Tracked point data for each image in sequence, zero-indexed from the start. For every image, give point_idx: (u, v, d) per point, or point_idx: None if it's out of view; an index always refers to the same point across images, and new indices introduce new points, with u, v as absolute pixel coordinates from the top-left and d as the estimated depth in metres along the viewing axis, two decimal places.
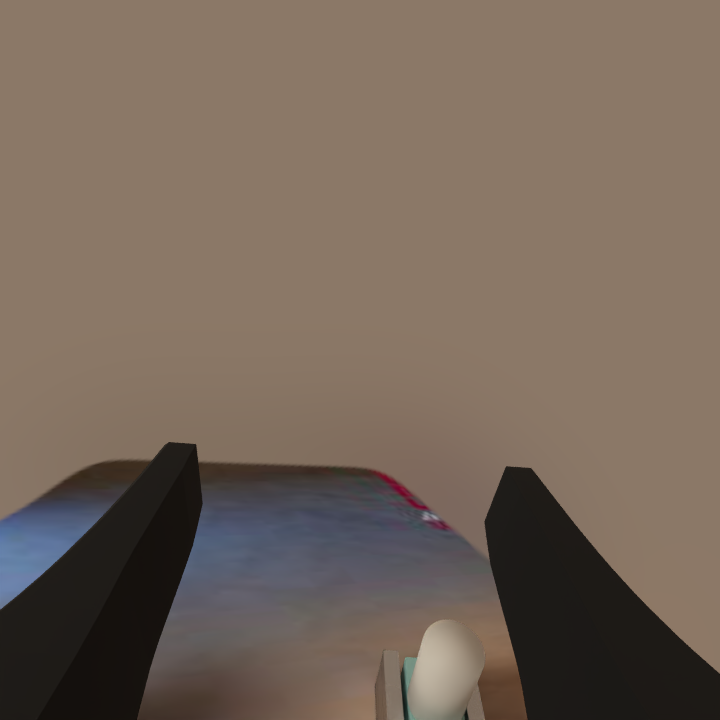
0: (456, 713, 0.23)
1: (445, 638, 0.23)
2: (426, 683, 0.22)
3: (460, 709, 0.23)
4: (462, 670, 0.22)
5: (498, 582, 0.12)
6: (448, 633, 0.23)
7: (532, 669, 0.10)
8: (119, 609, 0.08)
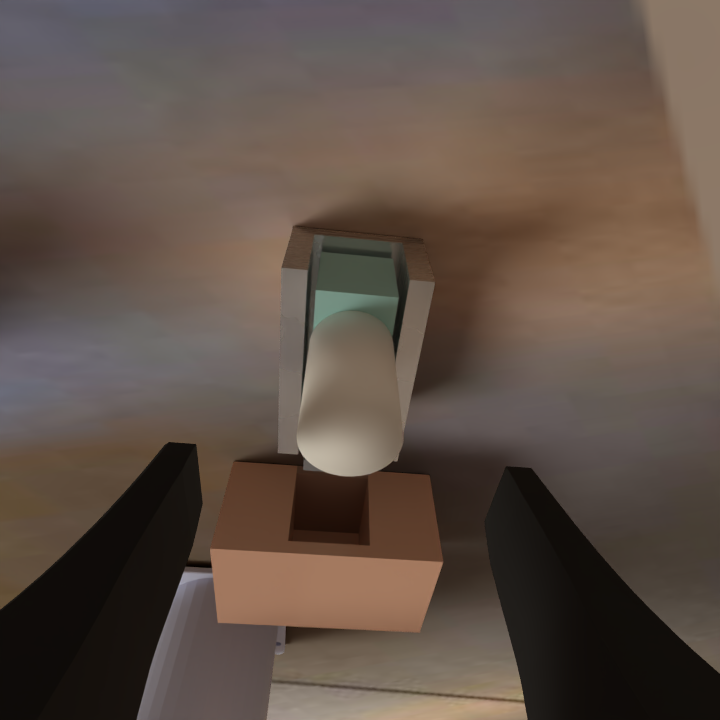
0: None
1: (340, 425, 0.13)
2: None
3: None
4: (355, 464, 0.14)
5: (498, 581, 0.12)
6: (348, 419, 0.13)
7: (532, 669, 0.10)
8: (119, 609, 0.08)
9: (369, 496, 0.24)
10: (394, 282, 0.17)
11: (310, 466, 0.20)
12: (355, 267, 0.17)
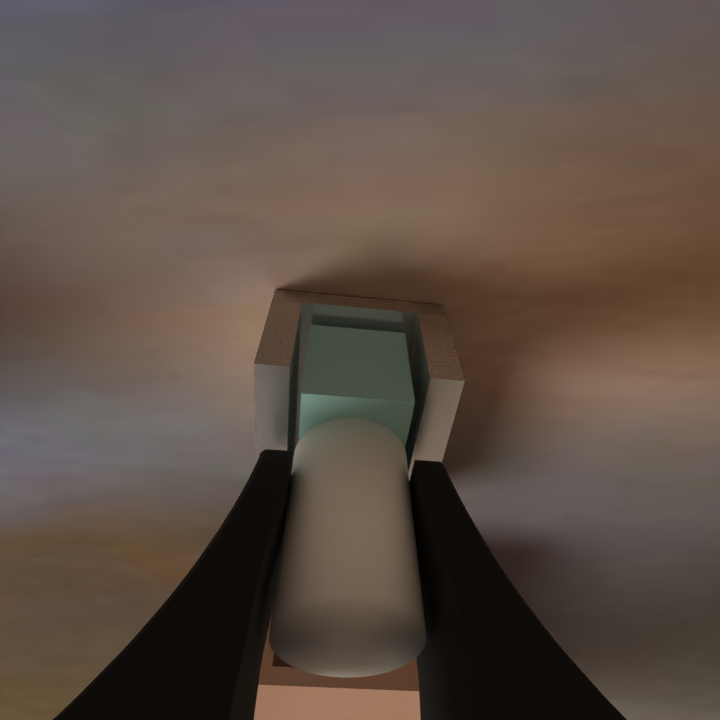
0: None
1: (332, 626, 0.09)
2: None
3: None
4: (355, 665, 0.10)
5: None
6: (344, 620, 0.09)
7: (424, 664, 0.10)
8: (255, 616, 0.08)
9: None
10: (408, 374, 0.12)
11: None
12: (355, 350, 0.13)
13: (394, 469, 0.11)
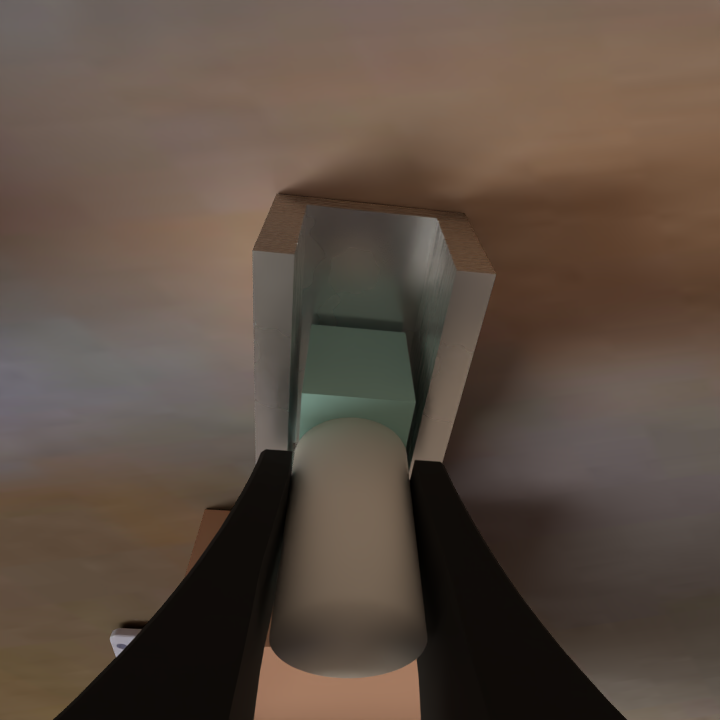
0: None
1: (333, 627, 0.09)
2: None
3: None
4: (355, 665, 0.09)
5: None
6: (345, 621, 0.09)
7: (425, 664, 0.10)
8: (255, 616, 0.08)
9: None
10: (408, 374, 0.12)
11: None
12: (356, 349, 0.13)
13: (395, 469, 0.11)
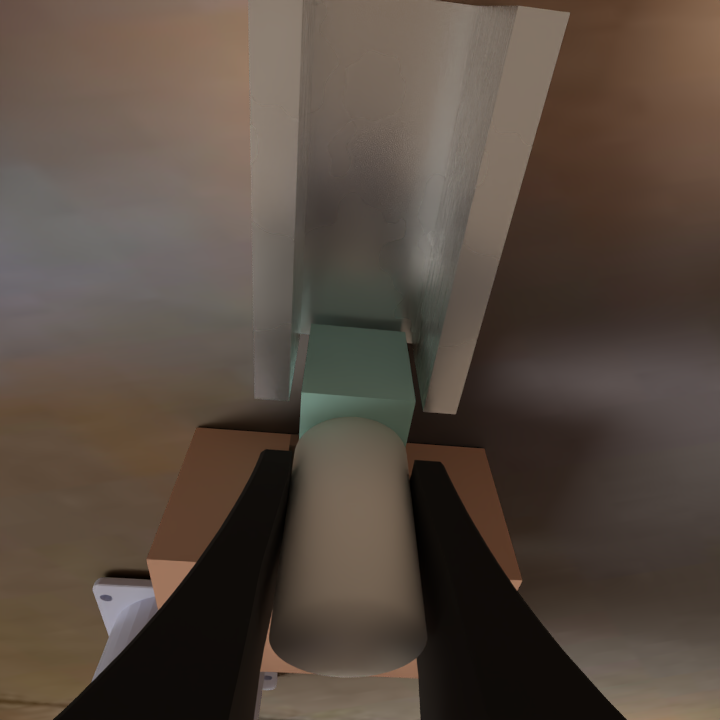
0: None
1: (332, 626, 0.09)
2: None
3: None
4: (355, 665, 0.09)
5: None
6: (344, 620, 0.09)
7: (425, 664, 0.10)
8: (255, 616, 0.08)
9: None
10: (408, 373, 0.12)
11: None
12: (356, 349, 0.13)
13: (394, 468, 0.11)
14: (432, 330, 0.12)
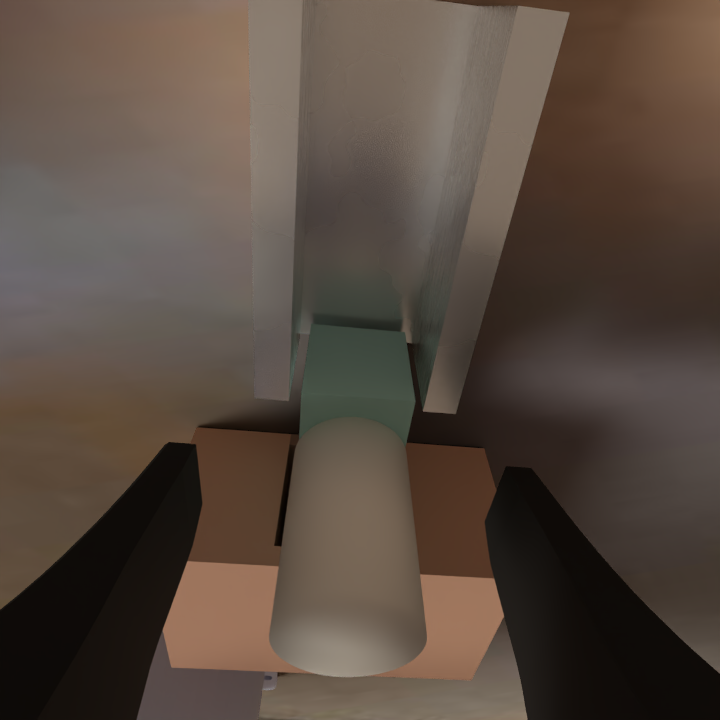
0: None
1: (332, 625, 0.09)
2: None
3: None
4: (355, 664, 0.09)
5: (498, 581, 0.12)
6: (344, 619, 0.09)
7: (532, 669, 0.10)
8: (119, 609, 0.08)
9: None
10: (408, 373, 0.12)
11: None
12: (356, 349, 0.13)
13: (394, 468, 0.11)
14: (432, 330, 0.12)
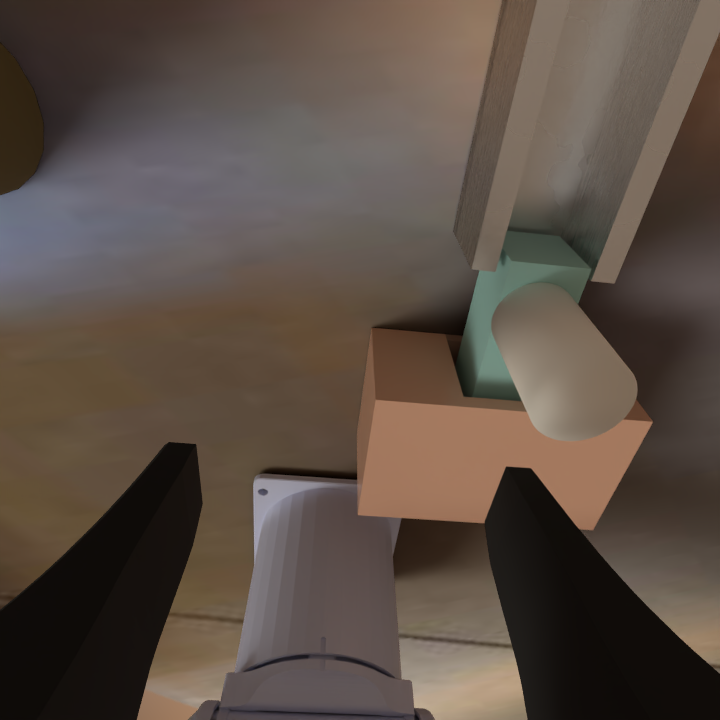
0: None
1: (577, 385, 0.13)
2: None
3: None
4: (578, 427, 0.14)
5: (498, 581, 0.12)
6: (587, 379, 0.13)
7: (532, 669, 0.10)
8: (119, 609, 0.08)
9: None
10: (577, 256, 0.17)
11: None
12: (531, 242, 0.17)
13: None
14: (599, 220, 0.16)
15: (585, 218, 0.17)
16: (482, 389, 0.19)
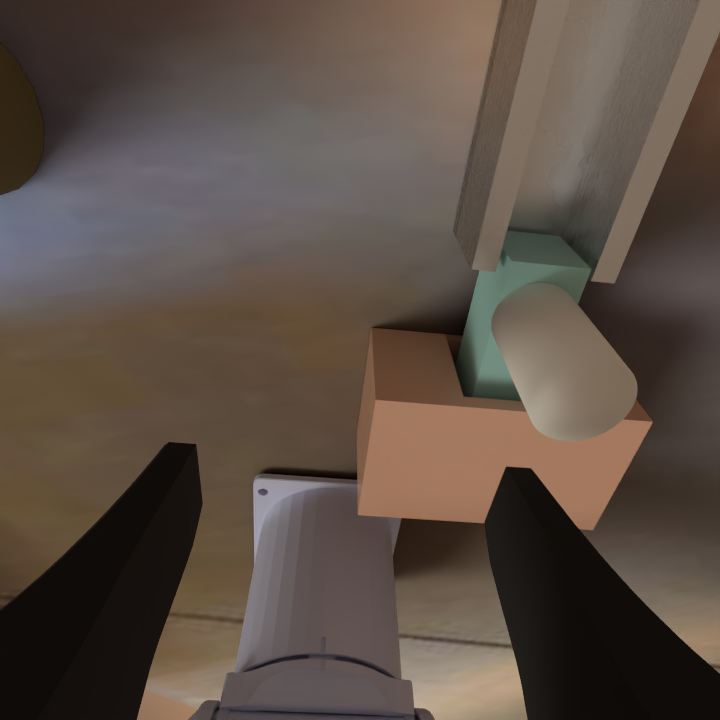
0: None
1: (577, 385, 0.13)
2: None
3: None
4: (578, 427, 0.14)
5: (498, 581, 0.12)
6: (587, 379, 0.13)
7: (532, 669, 0.10)
8: (119, 609, 0.08)
9: None
10: (577, 256, 0.17)
11: None
12: (531, 242, 0.17)
13: None
14: (599, 220, 0.16)
15: (585, 218, 0.17)
16: (482, 389, 0.19)
